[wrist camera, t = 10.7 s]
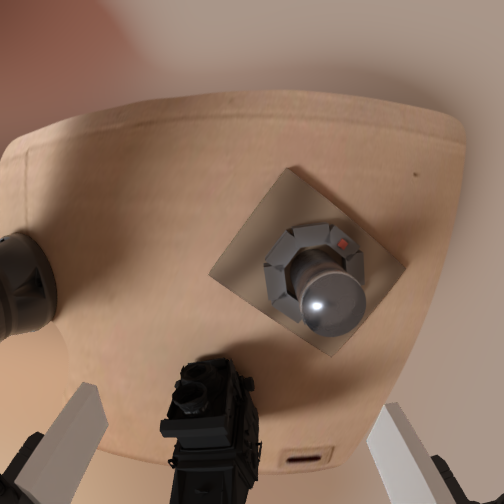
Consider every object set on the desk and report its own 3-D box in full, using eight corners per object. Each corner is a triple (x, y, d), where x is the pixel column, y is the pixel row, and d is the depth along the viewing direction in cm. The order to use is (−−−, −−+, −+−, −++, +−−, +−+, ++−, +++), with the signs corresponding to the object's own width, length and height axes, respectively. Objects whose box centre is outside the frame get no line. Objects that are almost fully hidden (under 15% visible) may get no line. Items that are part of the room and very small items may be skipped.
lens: (291, 246, 30) (306, 273, 20) (338, 249, 30) (372, 276, 20) (286, 295, 31) (297, 341, 21) (332, 297, 31) (359, 341, 21)
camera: (242, 339, 34) (225, 479, 14) (267, 415, 36) (269, 535, 17) (168, 352, 34) (106, 471, 15) (202, 423, 37) (176, 534, 17)
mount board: (209, 271, 32) (204, 280, 29) (285, 168, 29) (288, 166, 26) (329, 352, 34) (334, 365, 31) (401, 265, 31) (413, 272, 28)
